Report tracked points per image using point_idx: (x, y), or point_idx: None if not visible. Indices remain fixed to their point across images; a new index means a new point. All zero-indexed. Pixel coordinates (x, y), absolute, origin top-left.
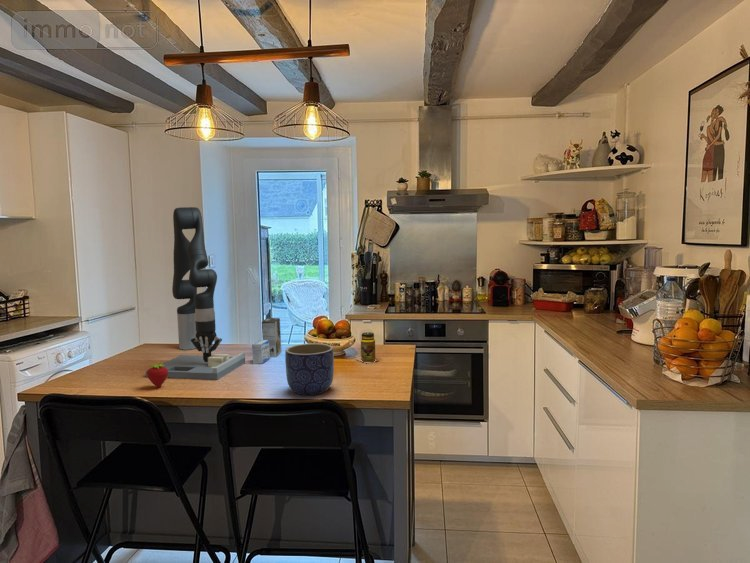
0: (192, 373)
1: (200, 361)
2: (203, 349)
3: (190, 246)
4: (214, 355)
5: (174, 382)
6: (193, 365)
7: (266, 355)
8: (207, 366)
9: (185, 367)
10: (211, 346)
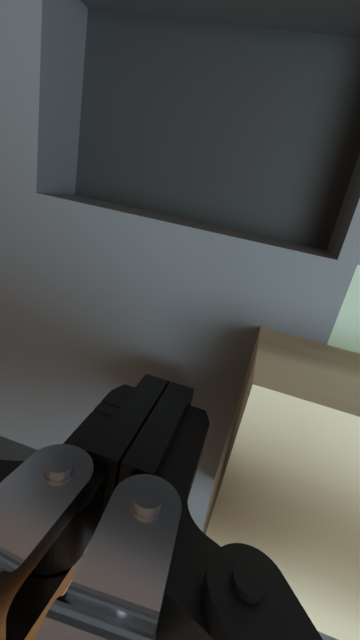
0: None
1: (44, 248)
2: (28, 599)
3: None
4: (261, 480)
5: (71, 580)
6: (48, 406)
7: None
8: (206, 480)
9: (5, 431)
10: (153, 635)
